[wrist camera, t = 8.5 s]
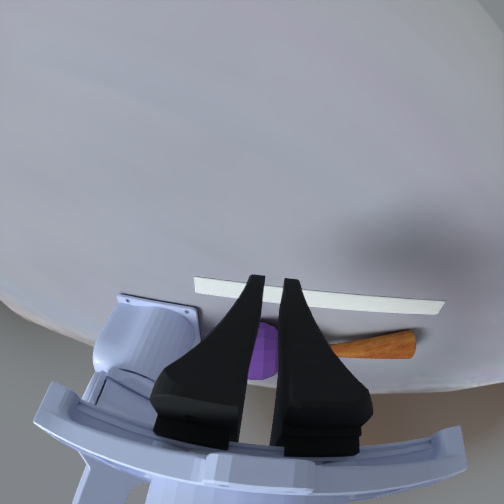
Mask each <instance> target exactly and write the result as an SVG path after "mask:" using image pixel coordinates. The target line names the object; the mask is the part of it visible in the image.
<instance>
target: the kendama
mask: <svg viewBox="0 0 504 504" xmlns="http://www.w3.org/2000/svg"><path fill="white" fill-rule="evenodd" d="M329 346H330V347H331V349H332V350H333V351H334V353H335V354H336V355H337V357H349V358H375V359H410V358H412V357H413V355H414V353H415V350H416V338H415V335H414V333H413V332H412V331H411V330H406V331H401V332H397V333H392V334H387V335H382V336H377V337H372V338H367V339H361V340H355V341H350V342H343V343H337V344H331V345H329ZM277 372H278V330H277V329H276V328H275V327H274V326H272V325H269V324H267V323H265V322H260V325H259V330H258V334H257V338H256V342H255V346H254V350H253V355H252V359H251V363H250V367H249V373H248V379H250V380H263V379H266V378H269V377H271V376H274V375H275V374H276V373H277Z"/></svg>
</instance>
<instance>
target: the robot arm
mask: <svg viewBox="0 0 504 504" xmlns="http://www.w3.org/2000/svg"><path fill="white" fill-rule="evenodd" d="M264 283H265V276H262V275H253V274H252V275H250V276H249V279H248V281H247V284H246V286H245V288H244V289H243V291H242V293H241V294H240V296H239V297H238V299H237V301H236V302H235V304H234V305H233V306H232V308H231V309H230V310H229V312H228V313H227V314H226V316H225V317H224V318H223V319H222V320H221V322H220V323H219V324H218V325H217V326H216V327H215V328H214V329H213V330H212V331H211V332H210V333H209V334H208V335H207V336H206V337H205V338H204V339H203V340H202V341H201V337H200V330H199V322H198V313H197V310H196V308H194V307H189V306H183V305H177V304H171V303H165V302H159V301H154V300H148V299H143V298H138V297H133V296H128V295H123V294H118V296H117V300H118V303H117V305H116V307H115V308H114V310H113V312H112V314H111V315H110V317H109V319H108V320H107V322H106V324H105V326H104V327H103V329H102V331H101V333H100V335H99V336H98V338H97V341H96V343H95V347H94V351H93V365H94V368H95V371H96V372H95V373H94V375H93V377H92V378H91V380H90V382H89V384H88V387H87V388H86V391H85V393H84V395H83V397H82V399H80V398H79V396H78V395H77V394H76V393H75V392H74V391H72V390H71V389H69V388H67V387H65V386H63V385H60V384H59V383H56V382H54V381H53V382H52V383H51V384H50V386H49V388H48V390H47V392H46V394H45V396H44V398H43V400H42V402H41V405H40V407H39V409H38V411H37V413H36V415H35V418H34V420H33V422H34V424H36V425H37V426H38V427H40V428H41V429H43V430H44V431H45V432H47V433H48V434H50V435H51V436H52V437H54V438H55V439H57V440H59V441H60V442H62V443H64V444H65V445H67V446H69V447H71V448H73V449H75V450H77V451H78V452H79V454H80V455H81V457H82V458H83V460H84V461H85V463H86V464H87V465H86V467H85V470H84V472H83V475H82V478H81V480H80V483H79V486H78V488H77V491H76V494H75V497H74V499H73V502H72V504H125V503H126V501H127V498H128V496H129V493H130V491H131V488H132V487H133V486H136V485H140V484H144V483H149V482H151V483H150V487H149V491H148V495H147V499H146V502H145V504H348V502H349V501H357V500H364V499H370V498H376V497H381V496H386V495H391V494H396V493H400V492H404V491H409V490H413V489H416V488H420V487H424V486H427V485H431V484H434V483H437V482H440V481H442V480H445V479H447V478H449V477H452V476H454V475H456V474H458V473H461V472H463V471H465V470H466V469H467V462H466V455H465V449H464V443H463V437H462V432H461V427H460V426H455V427H451V428H447V429H443V430H440V431H438V432H436V433H435V434H433V435H432V436H431V437H427V438H422V439H417V440H411V441H405V442H398V443H391V444H382V445H372V446H361V447H360V446H359V436H361V426H362V425H364V424H365V423H366V422H367V421H368V420H369V419H370V418H371V416H372V415H373V406H372V401H371V397H370V394H369V390H368V389H367V388H366V387H365V386H364V385H363V384H362V383H360V382H359V381H358V380H357V379H356V378H355V377H354V376H353V375H352V373H351V372H350V371H349V370H348V369H347V368H346V367H345V365H344V364H343V363H342V362H341V360H340V359H339V358H338V357H337V355H336V354H335V353H334V351H333V350H332V349H331V347H330V346H329V344H328V343H327V341H326V339H325V338H324V336H323V335H322V333H321V331H320V329H319V327H318V326H317V324H316V322H315V320H314V318H313V316H312V313H311V311H310V309H309V307H308V305H307V302H306V300H305V297H304V294H303V291H302V288H301V285H300V281H299V280H297V279H288V278H285V280H284V286H283V291H282V297H281V303H280V308H279V319H278V380H277V391H276V399H275V409H274V416H273V424H272V432H271V438H270V439H271V440H270V445H269V446H265V445H255V444H246V443H238V441H239V434H240V427H241V421H242V414H243V406H244V400H245V393H246V386H247V380H248V373H249V367H250V363H251V359H252V355H253V350H254V346H255V342H256V338H257V334H258V330H259V325H260V317H261V309H262V301H263V292H264ZM188 451H189V452H188ZM191 452H194V453H191Z"/></svg>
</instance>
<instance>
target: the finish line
mask: <svg viewBox="0 0 504 504" xmlns="http://www.w3.org/2000/svg"><path fill="white" fill-rule="evenodd" d="M194 281H195V291H196V293H201V294H208V295H215V296H223V297H230V298H238V297H239V296H240V294H241V293H242V291H243V289H244V288H245V286H246V284H247V283H241V282H233V281H225V280H218V279H210V278H202V277H195V276H194ZM282 291H283V287H276V286H267V285H264V292H263V302H271V303H281V297H282ZM302 291H303V294H304V297H305V300H306V302H307V305H308V306H310V307H321V308H332V309H344V310H358V311H372V312H389V313H408V314H434V315H437V314H438V313H439V311H440V309H441V308H442V306H443V305H444V303H445V301H437V300H421V299H406V298H393V297H380V296H367V295H356V294H344V293H334V292H323V291H313V290H303V289H302Z"/></svg>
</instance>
